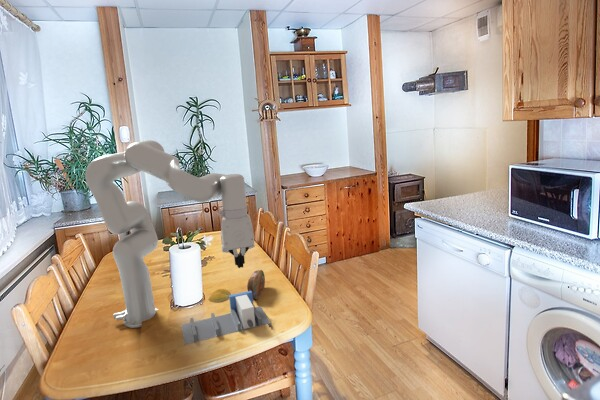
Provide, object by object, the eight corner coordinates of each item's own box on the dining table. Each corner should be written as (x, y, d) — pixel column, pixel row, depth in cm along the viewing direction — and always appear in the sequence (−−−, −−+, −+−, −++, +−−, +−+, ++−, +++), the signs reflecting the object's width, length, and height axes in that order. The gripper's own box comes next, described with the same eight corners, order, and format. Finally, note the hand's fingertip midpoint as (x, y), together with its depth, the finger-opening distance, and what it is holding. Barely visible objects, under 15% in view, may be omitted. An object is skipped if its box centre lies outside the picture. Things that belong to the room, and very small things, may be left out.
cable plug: (246, 334, 126) (244, 314, 124) (237, 315, 138) (235, 296, 137) (258, 331, 127) (256, 311, 125) (248, 312, 139) (246, 294, 138)
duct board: (185, 348, 123) (181, 324, 121) (182, 328, 135) (178, 305, 133) (270, 327, 132) (268, 304, 130) (261, 309, 144) (259, 288, 142)
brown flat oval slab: (255, 303, 149) (253, 282, 147) (247, 302, 150) (245, 282, 148) (266, 285, 164) (264, 266, 162) (258, 285, 164) (257, 266, 162)
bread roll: (206, 306, 150) (204, 296, 149) (214, 295, 158) (213, 286, 157) (226, 306, 148) (225, 297, 147) (234, 295, 157) (233, 286, 156)
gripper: (213, 219, 120) (219, 274, 124) (260, 212, 125) (264, 266, 129) (210, 213, 127) (215, 266, 131) (255, 207, 131) (259, 258, 136)
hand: (240, 266), depth 130 cm, fingers closed
